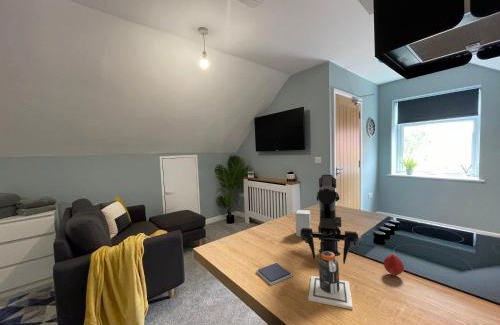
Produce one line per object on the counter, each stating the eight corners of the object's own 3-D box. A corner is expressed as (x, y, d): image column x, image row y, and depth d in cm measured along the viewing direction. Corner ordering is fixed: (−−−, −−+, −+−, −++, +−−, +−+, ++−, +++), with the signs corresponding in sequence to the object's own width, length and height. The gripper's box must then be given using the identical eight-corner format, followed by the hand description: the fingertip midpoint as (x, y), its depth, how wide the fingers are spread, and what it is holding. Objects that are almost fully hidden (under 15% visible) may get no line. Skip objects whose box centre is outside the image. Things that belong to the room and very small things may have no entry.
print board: (311, 277, 74) (311, 275, 74) (348, 283, 70) (348, 280, 69) (308, 300, 63) (308, 297, 63) (352, 309, 58) (352, 305, 58)
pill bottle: (341, 295, 63) (339, 258, 63) (321, 293, 64) (319, 257, 64) (337, 283, 69) (335, 249, 68) (318, 282, 70) (317, 249, 70)
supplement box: (310, 238, 108) (309, 214, 107) (295, 236, 111) (294, 213, 110) (311, 232, 115) (310, 210, 114) (298, 231, 117) (297, 209, 117)
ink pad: (276, 264, 84) (276, 261, 84) (292, 276, 75) (292, 273, 75) (256, 272, 79) (256, 269, 79) (270, 285, 71) (270, 282, 71)
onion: (380, 271, 76) (379, 249, 76) (396, 270, 76) (395, 249, 75) (390, 280, 70) (390, 257, 70) (408, 280, 70) (407, 257, 70)
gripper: (299, 206, 76) (297, 249, 66) (356, 208, 69) (362, 257, 60) (303, 220, 84) (301, 260, 74) (354, 223, 77) (359, 268, 67)
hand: (328, 261), depth 68 cm, fingers open, 9 cm apart
